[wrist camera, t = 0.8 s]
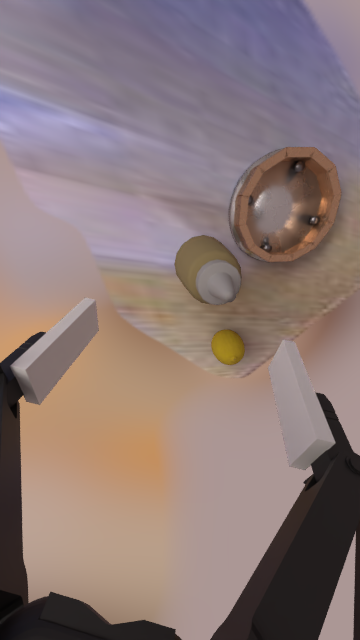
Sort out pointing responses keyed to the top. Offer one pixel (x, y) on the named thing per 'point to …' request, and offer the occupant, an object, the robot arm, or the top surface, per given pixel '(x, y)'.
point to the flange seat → (284, 204)
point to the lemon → (228, 347)
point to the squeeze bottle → (208, 270)
